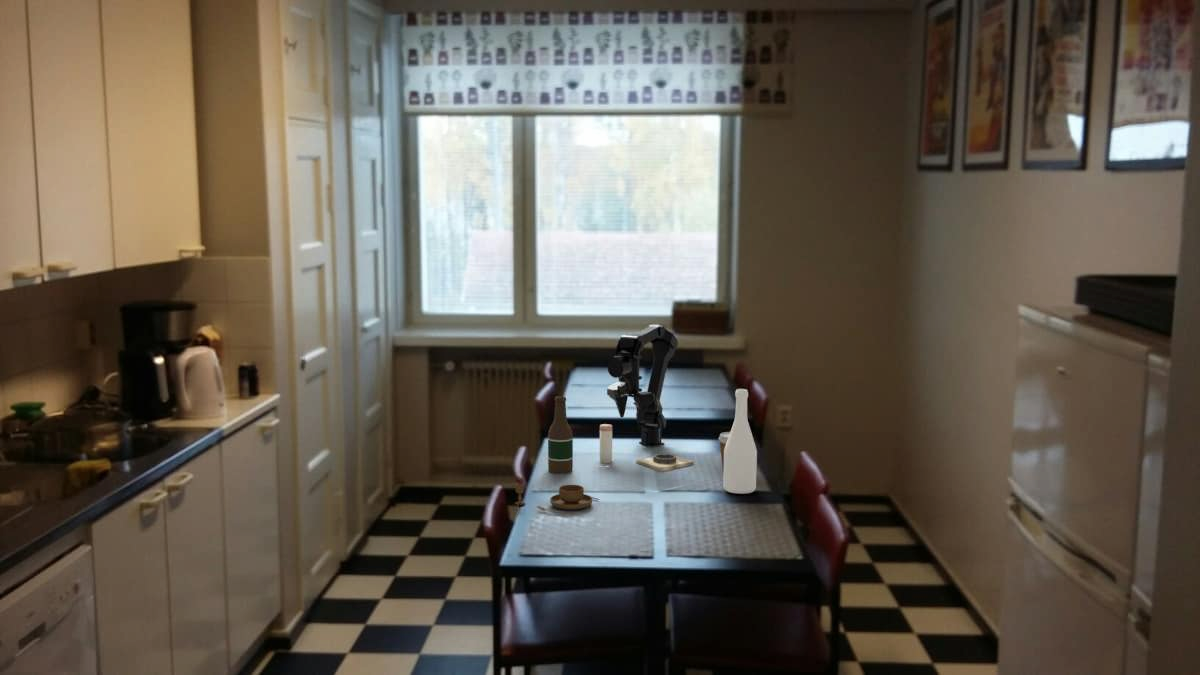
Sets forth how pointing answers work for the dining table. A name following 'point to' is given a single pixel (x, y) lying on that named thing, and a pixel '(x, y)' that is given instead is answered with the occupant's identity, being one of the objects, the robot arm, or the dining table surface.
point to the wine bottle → (740, 451)
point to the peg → (606, 443)
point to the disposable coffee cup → (723, 445)
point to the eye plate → (665, 466)
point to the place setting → (563, 497)
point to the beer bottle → (560, 441)
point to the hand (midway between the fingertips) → (630, 419)
